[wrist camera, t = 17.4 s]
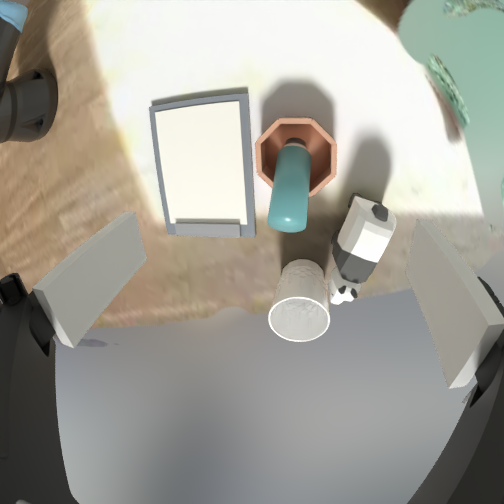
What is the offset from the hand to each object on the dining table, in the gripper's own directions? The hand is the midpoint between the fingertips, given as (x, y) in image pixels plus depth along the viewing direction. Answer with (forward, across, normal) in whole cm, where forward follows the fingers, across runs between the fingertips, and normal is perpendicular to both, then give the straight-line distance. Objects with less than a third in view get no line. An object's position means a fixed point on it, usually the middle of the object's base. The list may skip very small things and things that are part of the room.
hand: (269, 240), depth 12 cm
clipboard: (+26, -13, -2) cm, 29 cm away
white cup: (+26, +1, -19) cm, 32 cm away
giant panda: (+26, +8, -11) cm, 29 cm away
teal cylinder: (+24, 0, +1) cm, 24 cm away
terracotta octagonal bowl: (+25, 0, 0) cm, 25 cm away
